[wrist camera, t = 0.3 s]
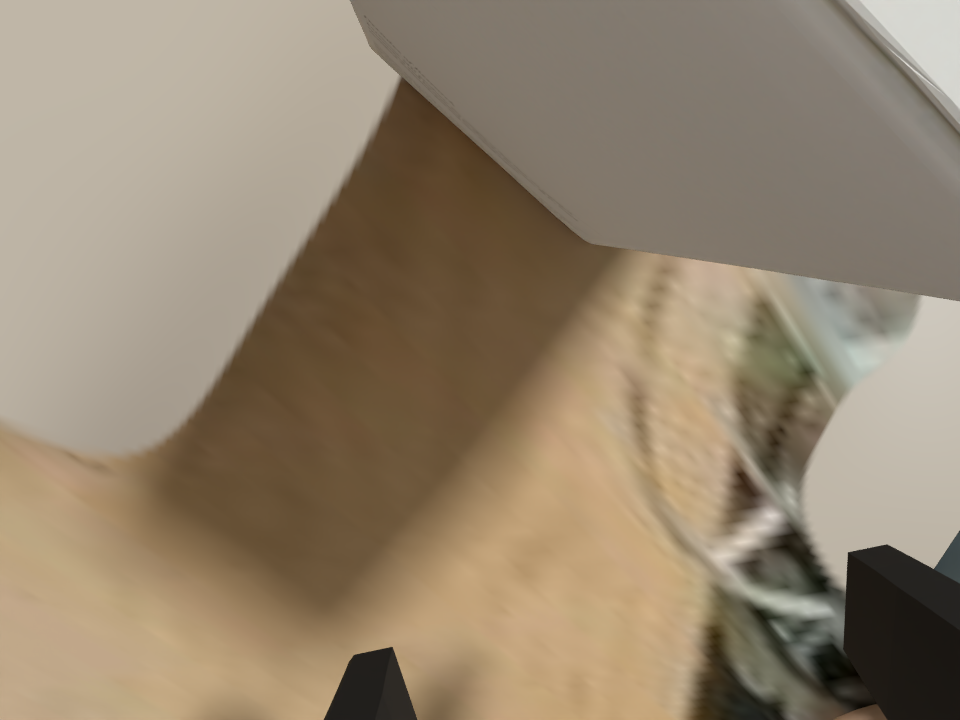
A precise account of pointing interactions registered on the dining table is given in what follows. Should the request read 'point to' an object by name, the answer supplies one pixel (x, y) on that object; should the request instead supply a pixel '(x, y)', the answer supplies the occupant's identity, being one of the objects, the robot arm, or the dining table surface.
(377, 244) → the dining table surface
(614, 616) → the dining table surface
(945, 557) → the bowl
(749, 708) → the dining table surface
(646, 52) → the supplement box
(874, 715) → the lid
